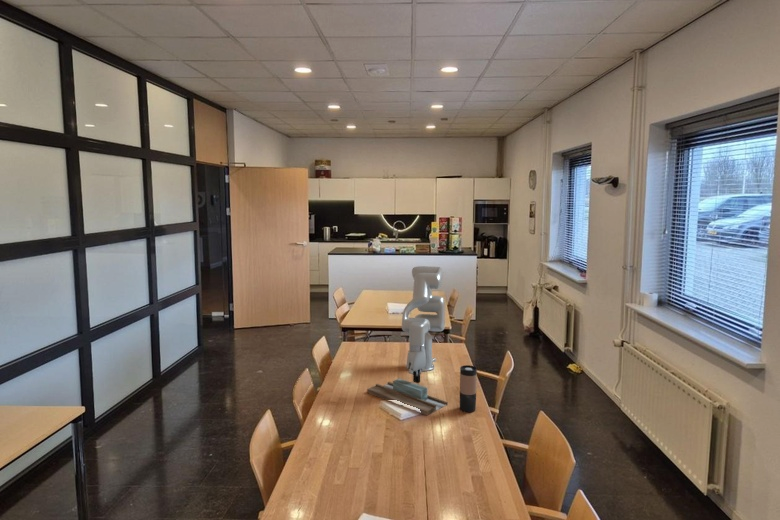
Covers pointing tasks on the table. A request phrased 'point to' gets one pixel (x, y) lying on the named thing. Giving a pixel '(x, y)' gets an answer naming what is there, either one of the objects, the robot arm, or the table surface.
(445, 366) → the table surface
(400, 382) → the teal rectangular block
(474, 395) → the travel mug
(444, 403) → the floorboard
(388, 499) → the table surface
